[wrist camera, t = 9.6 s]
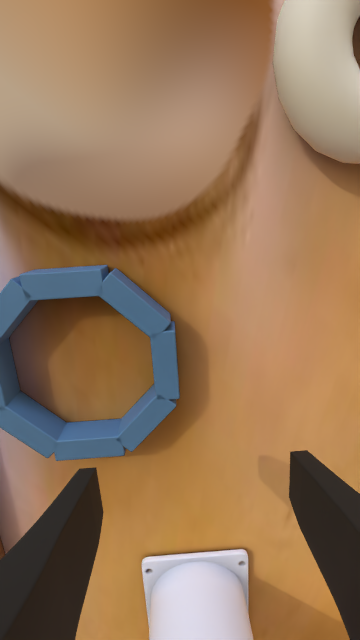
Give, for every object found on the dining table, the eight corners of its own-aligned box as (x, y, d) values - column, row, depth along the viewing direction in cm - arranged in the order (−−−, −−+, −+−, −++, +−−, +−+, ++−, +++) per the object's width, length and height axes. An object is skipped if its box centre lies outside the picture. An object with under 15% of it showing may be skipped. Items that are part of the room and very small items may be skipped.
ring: (182, 432, 22) (183, 451, 20) (11, 444, 22) (-5, 465, 20) (170, 260, 19) (170, 264, 17) (-30, 273, 19) (-53, 279, 17)
